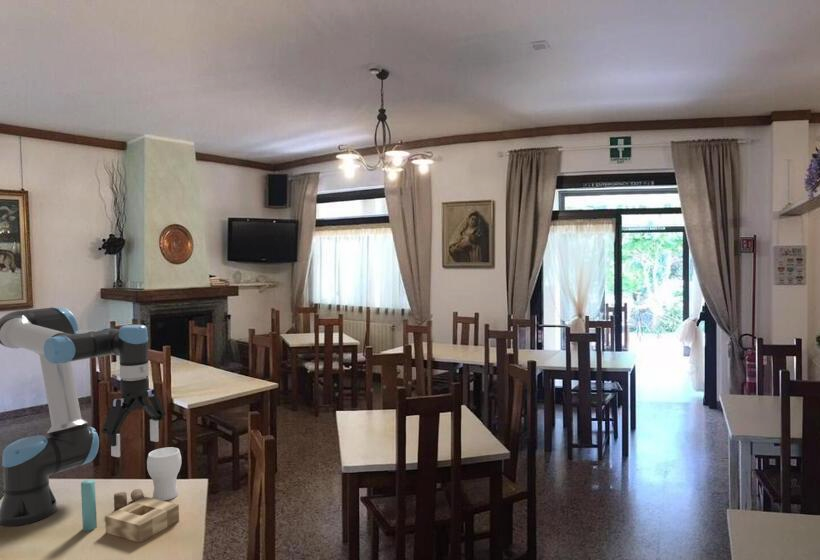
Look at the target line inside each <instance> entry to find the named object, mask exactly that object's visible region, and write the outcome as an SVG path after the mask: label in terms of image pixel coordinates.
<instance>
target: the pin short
mask: <svg viewBox="0 0 820 560" xmlns="http://www.w3.org/2000/svg"><path fill="white" fill-rule="evenodd" d="M127 493H128V492H126V491H120V492H117V493H115V494H114V495H113V501H114V502H113V505H114V506H113V507H114V511H113V512H115V511H117V510H119V509H121V508H123V507H125V506H127V505H128V497H127V496H128V495H127Z"/></svg>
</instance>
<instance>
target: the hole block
mask: <svg viewBox="0 0 820 560" xmlns="http://www.w3.org/2000/svg"><path fill="white" fill-rule="evenodd" d="M179 508H180V507H179V504H177V503H173V502H168V501H166V500H165V501H161V500H157V499H153V497H148V496H144V498H142V499H140V500H138V501H136V502H134V503H133V502H132V503H130V504H127V506H125V507H123V508H121V509H119V510H117V511H113V512H111V513H108V514H107V515H105V518H104V519H105V520H104V521H105V533H106V534H109V535H112V536H116V537H119V538H123V539H126V540H129V541H134V542H135V543H143V541H145V540H148V539H149V538H151V537H153V536H154V535H156V534H158V533H159V532H161V531H163V530H166V529H167V528H169V527H171V526H173V525H174V524H176V523H177V522H179V521H180V512H179V510H180V509H179Z"/></svg>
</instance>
